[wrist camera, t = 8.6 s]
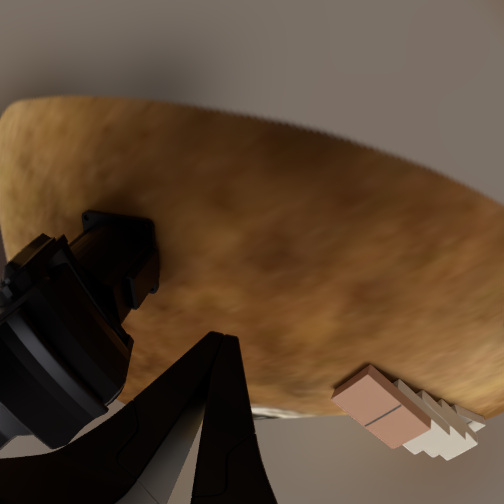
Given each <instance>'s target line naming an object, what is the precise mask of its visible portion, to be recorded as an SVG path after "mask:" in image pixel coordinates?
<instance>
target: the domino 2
mask: <svg viewBox="0 0 504 504" xmlns="http://www.w3.org/2000/svg"><path fill="white" fill-rule="evenodd" d="M392 384H393V385H394V386H395V387H397V388H398V389H399V390H400V391H401V392H402V393H403V394H404V395H406V396H407V397H408V398H409V399H410V400H411V401H412V402H413V403H415V404H416V405H417V406H418V407H419V408H420V409H421V410H422V411H423V412H425V413H426V414H427V415H428V416H429V417H430V418H431V429H430V430H429V431H427V432H425V433H423V434H421V435H420V436H418V437H416V438H414V439H412V440H410V441H408V442H406V443H404V444H402V445H403V446H404V447H406V448H407V449H408V450H409V451H411V452H412V453H413V454H417V453H419V452H421V451H423V450H425V449H427V448H429V447H431V446H433V445H434V444H436V443H438V442H440V441H442V440H444V439H445V438H447V437H449V436H450V425H448V424H447V423H446V422H445V421H444V420H443V419H442V418H441V417H440V416H439V415H438V414H437V413H436V412H435V411H434V410H432V409H431V408H430V407H429V406H428V405H427V404H426V403H425V402H424V401H423V400H422V399H421V398H420V397H419V396H417V395H416V394H415V393H414V392H413V391H412V390H411V389H410V388H409V387H408V386H407V385H406V384H405V383H403V382H402V381H401V380H400V379H398V380H397V381H395V382H394V383H392Z"/></svg>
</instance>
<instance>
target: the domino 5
mask: <svg viewBox="0 0 504 504" xmlns="http://www.w3.org/2000/svg"><path fill="white" fill-rule="evenodd" d="M451 408H452V409H453V410H454V411H455V413H456V414H457V415H458V416H459V417H460V418H461V419H462V420H463V421H464V422H465V423H466V424H467V425H468V426H469V427H470V428H471V429H472V430H473V431H474V432H476V431H477V430H479V429H481V428H482V427H484V426H485V422H484V418H483V417H482V416H480V415H478V414H475V413H473V412H471V411H469V410H467V409H464V408H462V407H460V406H458V405H456V404H455V405H453V406H452V407H451Z"/></svg>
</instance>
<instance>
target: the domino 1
mask: <svg viewBox="0 0 504 504" xmlns="http://www.w3.org/2000/svg"><path fill="white" fill-rule="evenodd" d="M331 400H332V401H333V402H334V403H335V404H337V405H338V406H339V407H340V408H341V409H343V410H344V411H345V412H346V413H348V414H349V415H350V416H351V417H353V418H354V419H355V420H356V421H358V422H359V423H360V424H361V425H363V426H364V427H365V428H366V429H368V430H369V431H370V432H371V433H373V434H374V435H375V436H376V437H378V438H379V439H380V440H382V441H383V442H384V443H386V444H387V445H388V446H389V447H391V448H392V449H394V448H396V447H398V446H400V445H402V444H404V443H406V442H408V441H410V440H412V439H414V438H416V437H418V436H420V435H421V434H423V433H425V432H427V431H429V430H430V429H431V418H430V417H429V416H428V415H427V414H426V413H425V412H423V411H422V410H421V409H420V408H419V407H418V406H417V405H416V404H415V403H413V402H412V401H411V400H410V399H409V398H408V397H407V396H406V395H404V394H403V393H402V392H401V391H400V390H399V389H398V388H397V387H395V386H394V385H393V384H392V383H391V382H390V381H389V380H388V379H387V378H385V377H384V376H383V375H382V374H381V373H380V372H379V371H378V370H376V369H375V368H374V367H373V366H372V365H371V364H370V365H369V366H367V367H366V368H365V369H363V370H362V371H360V372H359V373H358V374H356V375H355V376H354V377H352V378H351V379H349V380H348V381H346V382H345V383H344V384H342V385H341V386H339V387H338V388H336V389H335V390H334V393H333V395H332V397H331Z"/></svg>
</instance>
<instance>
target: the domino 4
mask: <svg viewBox="0 0 504 504" xmlns="http://www.w3.org/2000/svg"><path fill="white" fill-rule="evenodd" d="M436 403H437V404H438V405H439V406H441V407H442V408H443V409H444V410H445V411H446V412H447V413H448V414H449V415H450V416H451V417H452V418H453V419H454V420H455V421H456V422H457V423H458V424H459V425H460V426H461V427H462V428H463V429H464V430H465V431H466V440H465V441H463V442H462V443H460V444H458V445H456V446H455V447H453V448H451V449H449V450H447V451H445V452H443V453H441V454H440V455H441V456H442V457H444V458H445V459H446V460H449V459H452V458H453V457H455V456H457V455H459V454H461V453H463V452H465V451H467V450H468V449H470V448H472V447H474V446H476V445H477V444H478V436H477V434H476V433H475V432H474V431H473V430H472V429H471V428H470V427H469V426H468V425H467V424H466V423H465V422H464V421H463V420H462V419H461V418H460V417H459V416H458V415H457V414H456V413H455V411H454V410H453V409H452V408H451V407H450V406H449V405H448V404H447V403H446V402H445V401H444V400H443V399H441V400H439V401H438V402H436Z"/></svg>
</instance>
